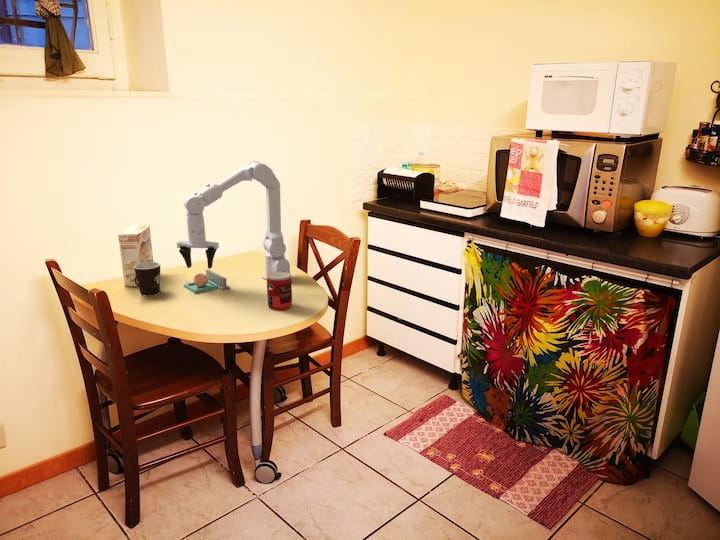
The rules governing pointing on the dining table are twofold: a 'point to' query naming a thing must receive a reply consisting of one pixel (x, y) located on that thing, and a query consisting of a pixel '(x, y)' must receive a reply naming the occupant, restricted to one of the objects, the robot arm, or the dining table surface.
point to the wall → (217, 279)
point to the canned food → (279, 290)
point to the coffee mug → (148, 277)
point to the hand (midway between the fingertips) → (199, 267)
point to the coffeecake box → (134, 250)
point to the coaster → (196, 289)
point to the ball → (200, 280)
